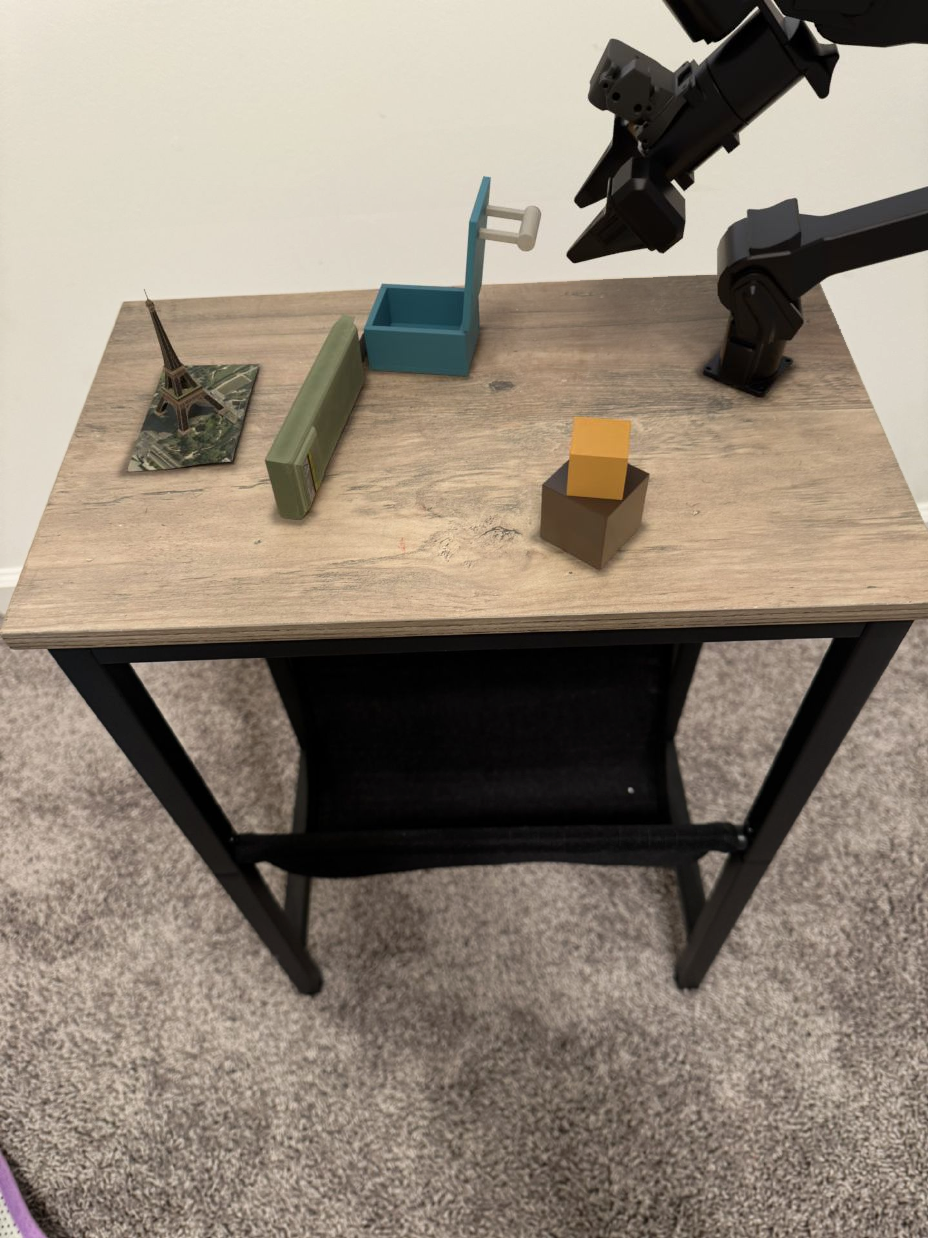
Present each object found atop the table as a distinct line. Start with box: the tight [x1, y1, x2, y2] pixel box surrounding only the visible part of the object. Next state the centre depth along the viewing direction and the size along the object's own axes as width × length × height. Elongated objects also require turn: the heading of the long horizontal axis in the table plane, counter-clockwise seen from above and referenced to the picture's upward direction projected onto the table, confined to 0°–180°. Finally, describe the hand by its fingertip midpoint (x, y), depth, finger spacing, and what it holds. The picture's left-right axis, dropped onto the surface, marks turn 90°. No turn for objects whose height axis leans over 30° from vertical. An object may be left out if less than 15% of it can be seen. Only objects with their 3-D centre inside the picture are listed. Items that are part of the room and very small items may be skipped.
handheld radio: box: [264, 314, 368, 521], centre depth 76 cm, size 7×3×25 cm
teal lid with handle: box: [462, 175, 542, 332], centre depth 76 cm, size 11×8×6 cm
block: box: [567, 416, 632, 500], centre depth 62 cm, size 4×4×4 cm
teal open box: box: [363, 283, 481, 377], centre depth 83 cm, size 10×8×5 cm
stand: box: [539, 459, 651, 571], centre depth 66 cm, size 6×6×6 cm
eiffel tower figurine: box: [126, 288, 260, 473], centre depth 75 cm, size 15×10×13 cm
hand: (573, 230), depth 72 cm, fingers open, 9 cm apart
